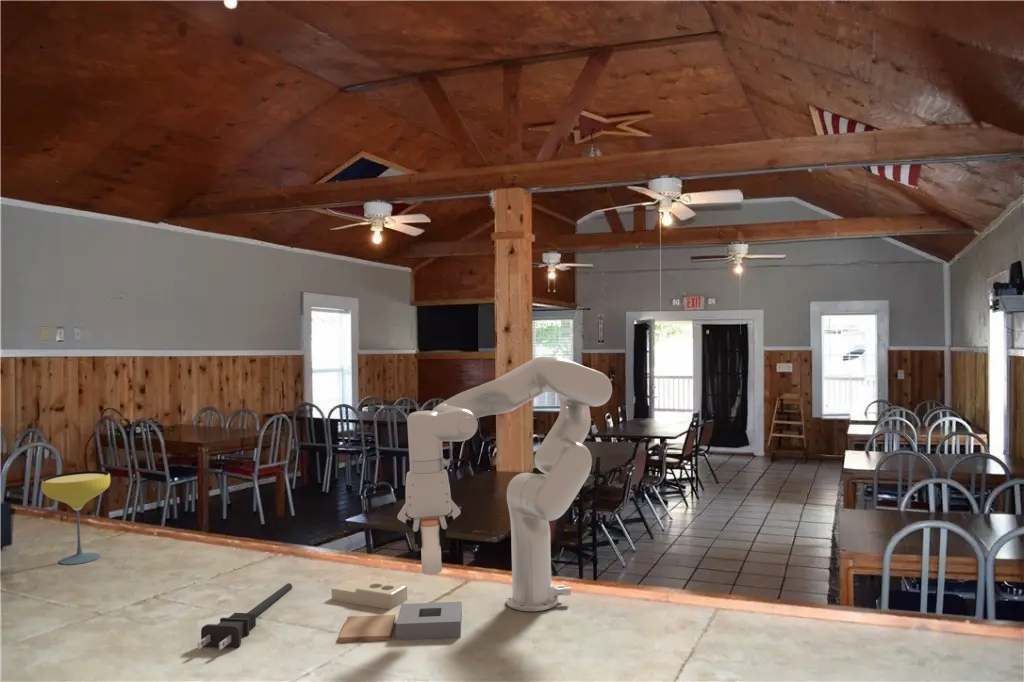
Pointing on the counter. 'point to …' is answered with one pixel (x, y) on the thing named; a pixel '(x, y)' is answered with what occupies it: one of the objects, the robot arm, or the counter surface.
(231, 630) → the electrical plug
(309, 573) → the counter surface
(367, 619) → the board
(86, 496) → the cocktail glass
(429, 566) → the plug
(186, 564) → the counter surface
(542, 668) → the counter surface
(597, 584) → the counter surface
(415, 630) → the socket block
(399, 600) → the electrical outlet
